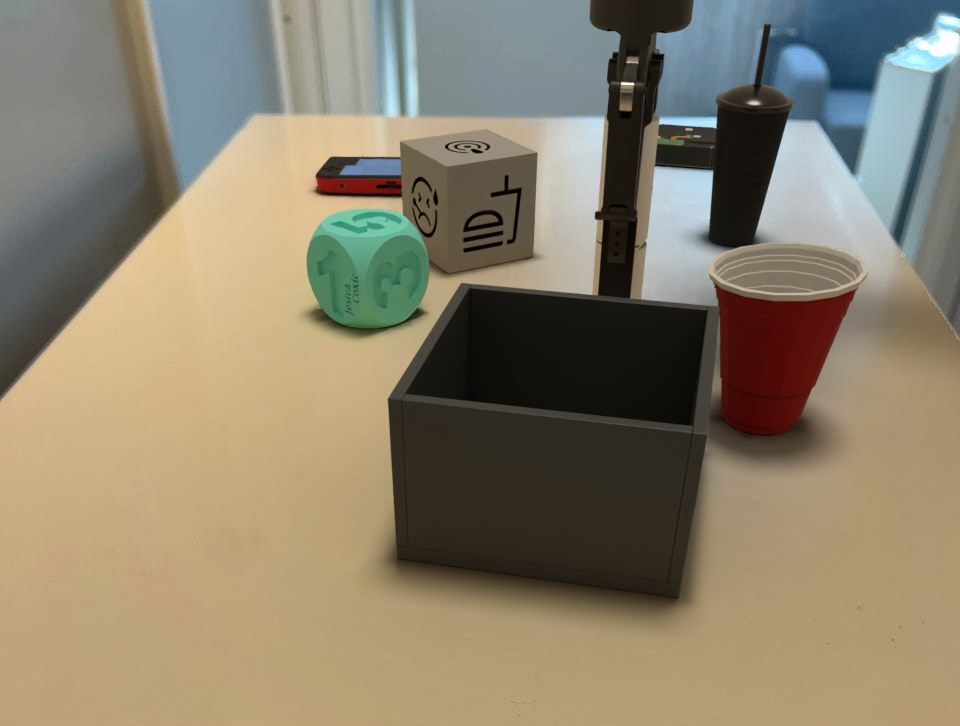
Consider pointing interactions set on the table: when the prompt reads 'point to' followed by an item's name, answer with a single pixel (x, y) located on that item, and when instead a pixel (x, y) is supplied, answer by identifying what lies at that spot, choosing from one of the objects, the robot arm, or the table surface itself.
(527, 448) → the bin
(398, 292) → the decorative dice
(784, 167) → the table surface
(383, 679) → the table surface
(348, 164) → the game console
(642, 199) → the tube
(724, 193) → the drinking cup
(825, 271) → the plastic cup
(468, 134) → the icon cube
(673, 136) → the disk drive
